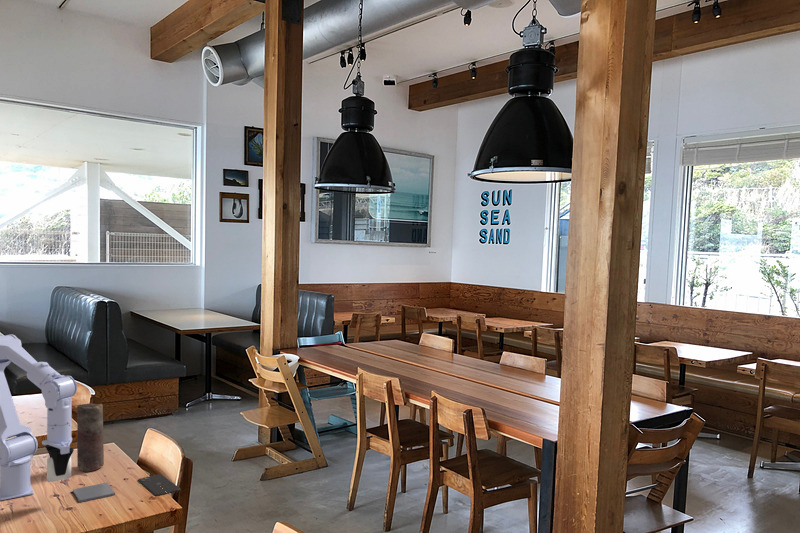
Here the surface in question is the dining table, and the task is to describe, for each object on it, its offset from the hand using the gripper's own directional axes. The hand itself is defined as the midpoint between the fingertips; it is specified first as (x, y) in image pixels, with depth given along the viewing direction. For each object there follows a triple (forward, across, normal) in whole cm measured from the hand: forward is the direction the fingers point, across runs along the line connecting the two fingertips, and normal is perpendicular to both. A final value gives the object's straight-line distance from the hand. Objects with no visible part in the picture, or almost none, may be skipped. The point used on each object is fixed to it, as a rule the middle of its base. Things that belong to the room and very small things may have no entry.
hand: (59, 472), depth 168 cm
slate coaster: (+8, -2, +9) cm, 13 cm away
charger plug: (+2, 0, 0) cm, 2 cm away
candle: (+9, -23, +13) cm, 28 cm away
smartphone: (+9, +3, +26) cm, 27 cm away
